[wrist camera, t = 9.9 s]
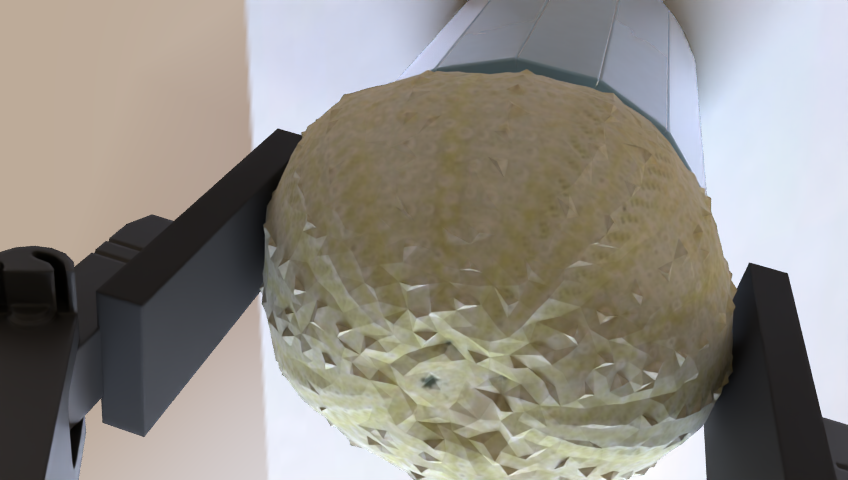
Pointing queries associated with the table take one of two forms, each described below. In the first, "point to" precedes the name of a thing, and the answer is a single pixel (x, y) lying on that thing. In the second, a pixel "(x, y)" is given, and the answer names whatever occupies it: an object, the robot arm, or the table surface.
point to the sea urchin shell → (498, 280)
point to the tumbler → (583, 56)
